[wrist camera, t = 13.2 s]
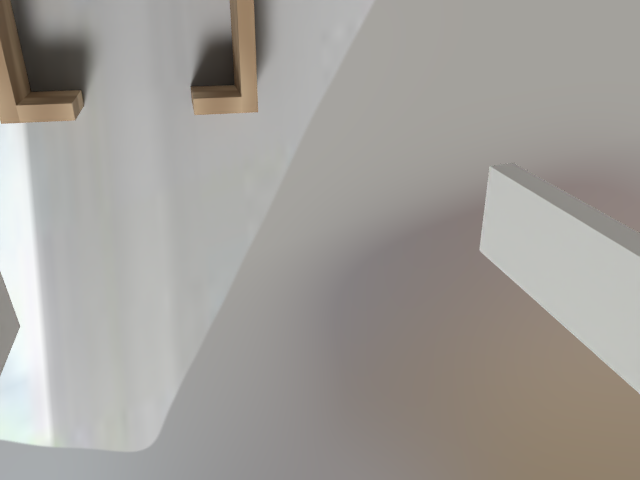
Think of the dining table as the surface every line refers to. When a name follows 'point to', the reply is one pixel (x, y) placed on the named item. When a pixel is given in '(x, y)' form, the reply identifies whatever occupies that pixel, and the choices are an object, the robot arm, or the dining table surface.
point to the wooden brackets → (25, 106)
